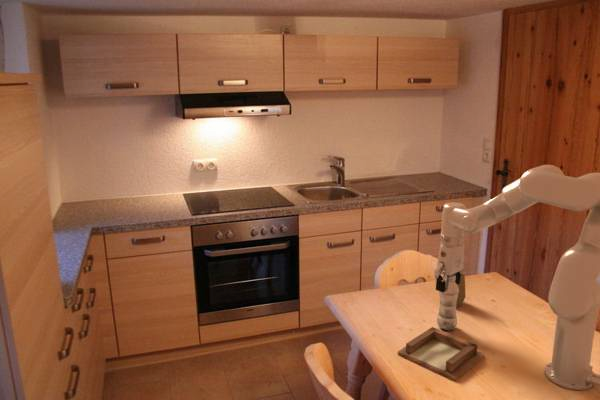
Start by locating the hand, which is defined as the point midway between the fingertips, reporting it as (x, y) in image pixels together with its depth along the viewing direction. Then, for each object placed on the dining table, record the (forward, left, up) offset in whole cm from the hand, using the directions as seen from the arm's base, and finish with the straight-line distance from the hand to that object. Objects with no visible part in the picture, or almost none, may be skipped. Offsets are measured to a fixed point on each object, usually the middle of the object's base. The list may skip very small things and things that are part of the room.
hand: (447, 286), depth 169 cm
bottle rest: (-9, +17, -15) cm, 24 cm away
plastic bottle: (-1, 0, -16) cm, 16 cm away
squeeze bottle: (+7, -19, -16) cm, 26 cm away
